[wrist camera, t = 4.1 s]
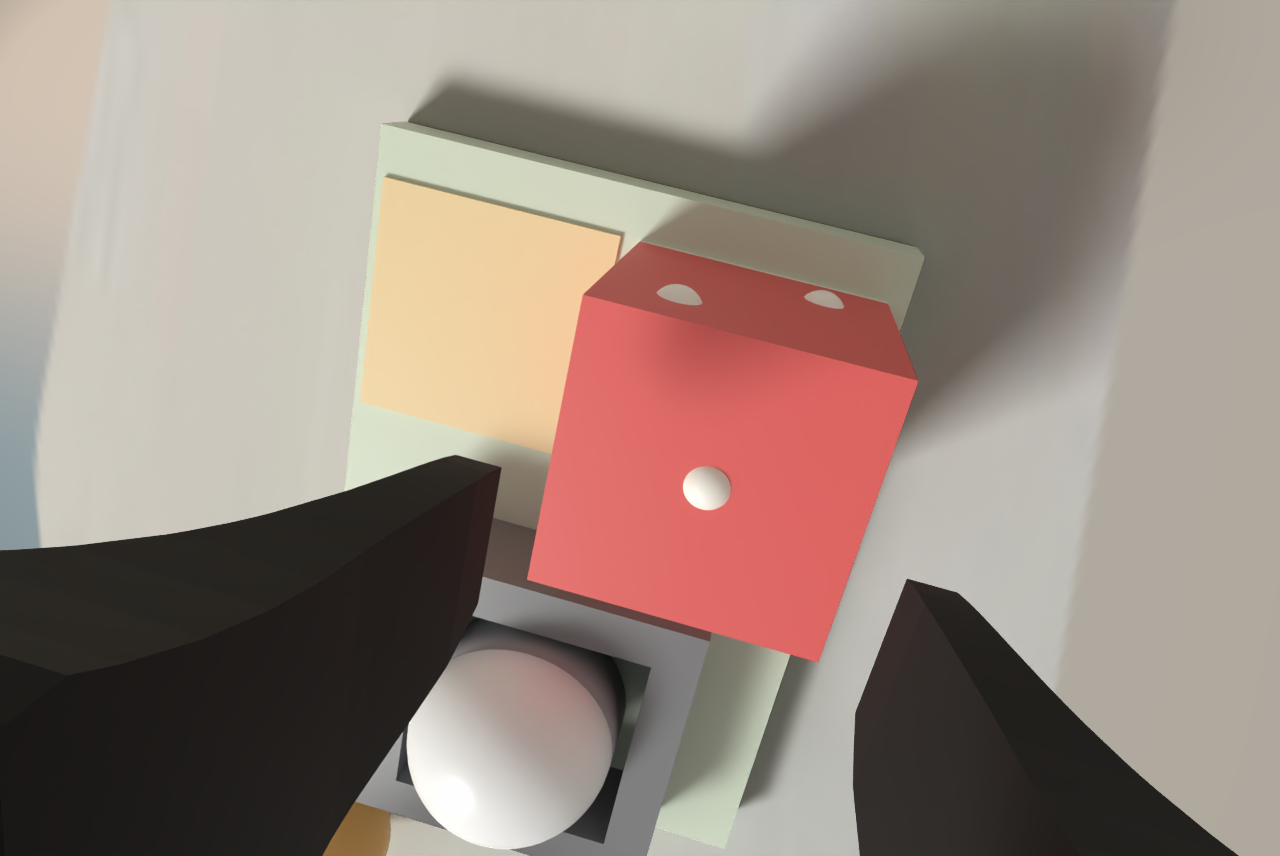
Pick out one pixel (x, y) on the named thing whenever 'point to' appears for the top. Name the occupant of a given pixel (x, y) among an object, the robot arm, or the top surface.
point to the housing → (630, 798)
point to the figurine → (361, 833)
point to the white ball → (515, 736)
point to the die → (720, 447)
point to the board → (561, 362)
